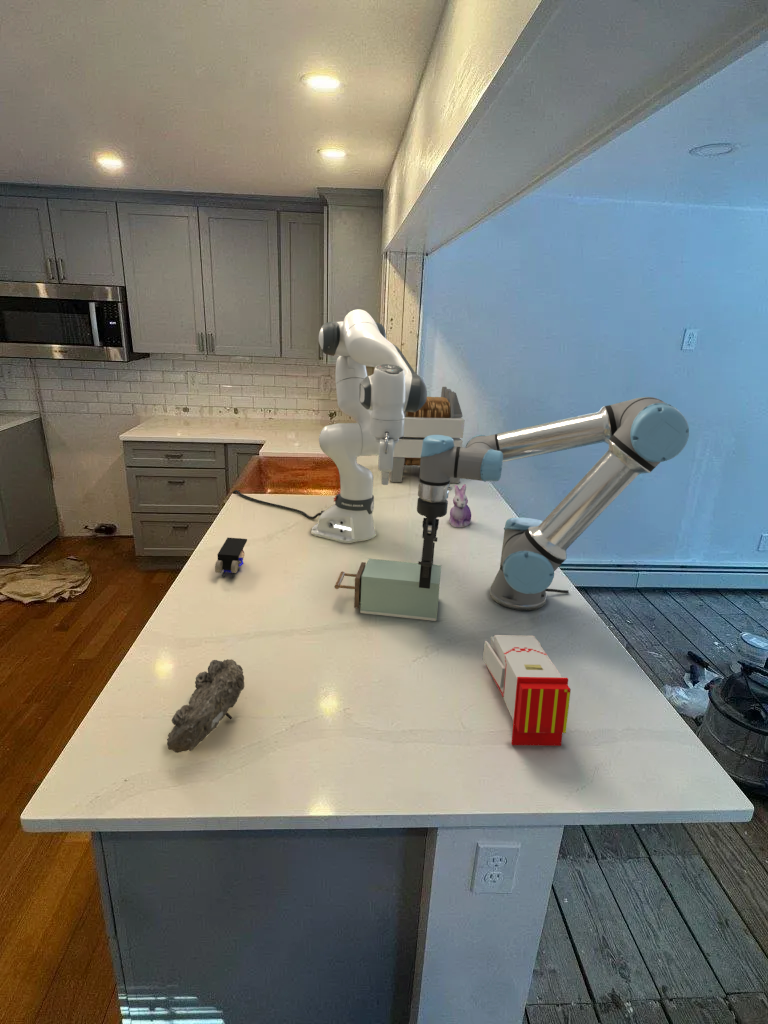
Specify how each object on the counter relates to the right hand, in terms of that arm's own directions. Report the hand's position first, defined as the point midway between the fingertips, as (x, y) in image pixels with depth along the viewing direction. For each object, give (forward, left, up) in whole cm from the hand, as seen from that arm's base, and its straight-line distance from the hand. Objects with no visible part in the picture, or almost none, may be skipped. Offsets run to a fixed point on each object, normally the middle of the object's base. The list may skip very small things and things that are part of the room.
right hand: (426, 575), depth 147 cm
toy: (-9, +39, -10) cm, 41 cm away
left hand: (+8, -17, +21) cm, 28 cm away
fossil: (+52, +34, -10) cm, 63 cm away
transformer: (-36, -127, -10) cm, 133 cm away
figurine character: (+50, -31, -10) cm, 59 cm away
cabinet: (+6, -2, -10) cm, 12 cm away
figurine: (-32, -59, -10) cm, 68 cm away
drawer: (+11, -4, -9) cm, 14 cm away
